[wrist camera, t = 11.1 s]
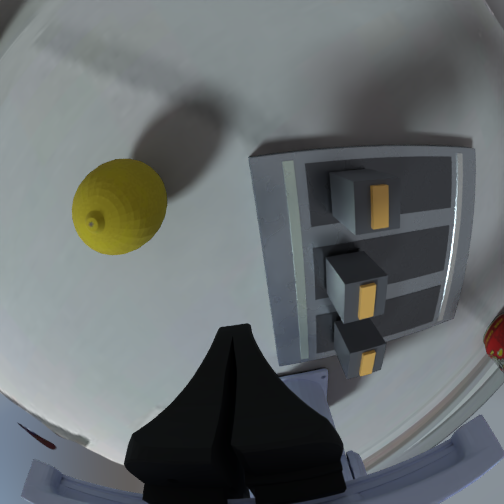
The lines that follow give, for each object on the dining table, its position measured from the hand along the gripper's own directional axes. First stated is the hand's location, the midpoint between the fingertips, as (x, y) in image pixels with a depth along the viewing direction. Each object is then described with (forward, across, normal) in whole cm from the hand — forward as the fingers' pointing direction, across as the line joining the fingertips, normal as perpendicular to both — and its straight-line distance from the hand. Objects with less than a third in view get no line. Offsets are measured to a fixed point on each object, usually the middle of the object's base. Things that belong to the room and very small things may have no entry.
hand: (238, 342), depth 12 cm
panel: (+10, -12, +2) cm, 16 cm away
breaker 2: (+8, -8, +2) cm, 11 cm away
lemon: (+10, +6, -6) cm, 13 cm away
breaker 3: (+8, -8, +8) cm, 14 cm away
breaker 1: (+8, -8, -4) cm, 12 cm away
